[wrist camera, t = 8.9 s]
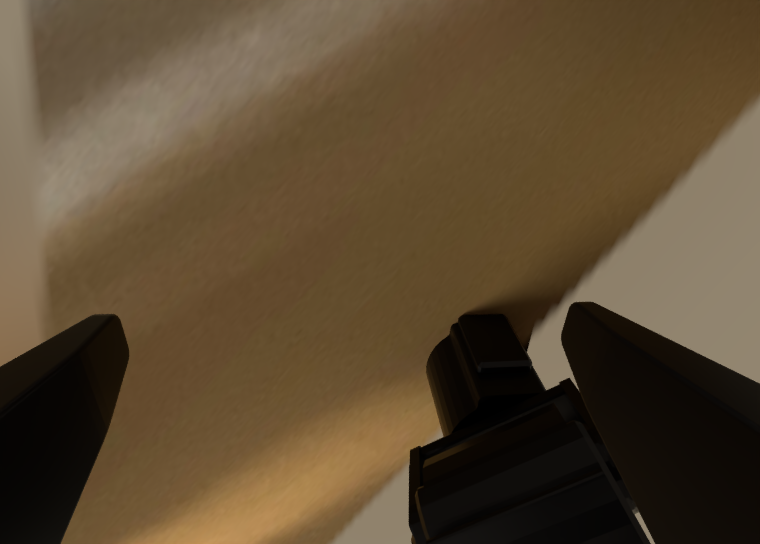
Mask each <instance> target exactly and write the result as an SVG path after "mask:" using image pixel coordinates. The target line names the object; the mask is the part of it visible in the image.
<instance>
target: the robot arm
mask: <svg viewBox="0 0 760 544" xmlns="http://www.w3.org/2000/svg"><path fill="white" fill-rule="evenodd" d="M530 339H531V337H530V338H529V339H528V340H527V342H526V343H524V344H523V345H522V343H521V342H520V340H519V338H518V336H517V335H516V333H515V331H514V329H513V327H512V326H511V324H510V322H509V320H508V319H507V317H506V316H504V315H503V314H500V315H469V316H461V317H459V318H458V323H455V324H453V325H452V326H451V329H450V334H449V336H447V337H446V338H445V339H443V340H442V341H441V342H440V343H439V344H438V345H437V346H436V347H435V348H434V349H433V351H432V352H431V354H430V356H429V358H428V361H427V366H426V373H427V377H428V381H429V385H430V389H431V392H432V396H433V400H434V403H435V407H436V411H437V414H438V418H439V422H440V425H441V429H442V433H443V436H444V437H443V438H441V439H438V440H436V441H434V442H432V443H429V444H427V445H425V446H423V447H421V446H418V447H416V448H414V449H411V450H410V465H409V527H410V530H411V532H412V538H411V542H412V544H651V543H650V542H649V540H648V538H647V536H646V535H645V533H644V531H643V529H642V527H641V526H640V524H639V522H638V520H637V519H636V517H635V515H634V514H636V513H638V512H639V513H640V515H641V516H642V518H643V520H644V522H645V524H646V526H647V528H648V530H649V532H650V534H651V536H652V538H653V540H654V542H655V544H760V383H757V382H755V381H753V380H751V379H749V378H747V377H745V376H743V375H741V374H739V373H737V372H735V371H733V370H731V369H729V368H727V367H725V366H723V365H721V364H718V363H717V362H715V361H712V360H710V359H708V358H706V357H704V356H702V355H700V354H698V353H696V352H694V351H692V350H690V349H688V348H686V347H684V346H682V345H680V344H678V343H676V342H674V341H672V340H670V339H668V338H665V337H663V336H661V335H659V334H657V333H655V332H653V331H651V330H649V329H647V328H645V327H643V326H641V325H639V324H637V323H635V322H633V321H630V320H629V319H627V318H625V317H622V316H620V315H618V314H616V313H614V312H612V311H610V310H608V309H606V308H604V307H602V306H600V305H598V304H596V303H594V302H574V303H573V304H571V306H570V307H569V310H568V313H567V317H566V320H565V323H564V327H563V330H562V334H561V341H562V346H563V348H564V351H565V354H566V356H567V359H568V362H569V364H570V367H571V370H572V372H573V375H574V377H575V380H576V383H577V386H578V388H579V390H578V389H577V388H576V386H575V385H574V383H573V382H572V381H571V379H570V378H568V379H566V380H563V381H561V382H559V383H560V384H559V385H557V386H555V387H553V388H551V389H549V390H546V389H545V387H544V386H543V384H542V382H541V380H540V379H539V377H538V375H537V373H536V371H535V370H534V368H533V366H532V361H531V359H530V357H529V356H528V354H527V351H528V347H529V343H530ZM128 360H129V348H128V344H127V341H126V337H125V334H124V330H123V327H122V324H121V321H120V319H119V317H118V316H117V315H115V314H95V315H91V316H89V317H88V318H86V319H84V320H82V321H81V322H79V323H77V324H75V325H73V326H72V327H70V328H68V329H66V330H65V331H63V332H61V333H59V334H57V335H56V336H54V337H52V338H50V339H49V340H47V341H45V342H43V343H41V344H40V345H38V346H36V347H34V348H33V349H31V350H29V351H27V352H26V353H24V354H22V355H20V356H18V357H17V358H15V359H13V360H12V361H10V362H8V363H6V364H4V365H2V366H1V367H0V544H61V542H62V539H63V537H64V534H65V532H66V530H67V527H68V525H69V523H70V520H71V518H72V515H73V513H74V511H75V508H76V506H77V504H78V501H79V499H80V497H81V494H82V492H83V489H84V487H85V485H86V482H87V480H88V478H89V475H90V473H91V470H92V468H93V466H94V463H95V461H96V459H97V456H98V454H99V452H100V449H101V447H102V444H103V442H104V439H105V437H106V434H107V432H108V429H109V426H110V423H111V419H112V416H113V412H114V409H115V406H116V402H117V399H118V395H119V392H120V388H121V385H122V381H123V378H124V374H125V371H126V367H127V364H128ZM579 391H580V392H579Z"/></svg>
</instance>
